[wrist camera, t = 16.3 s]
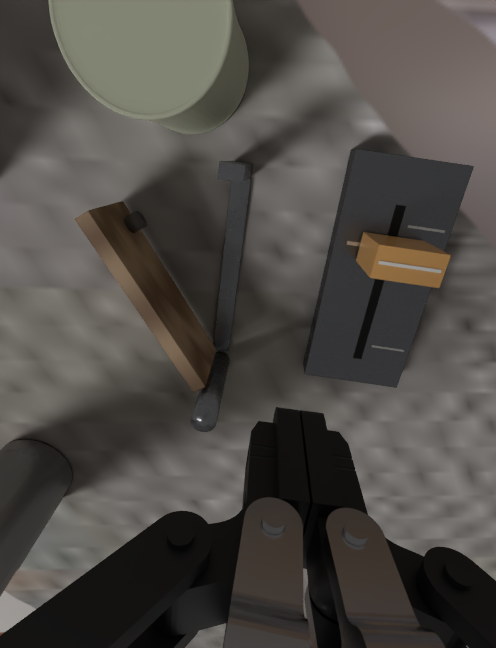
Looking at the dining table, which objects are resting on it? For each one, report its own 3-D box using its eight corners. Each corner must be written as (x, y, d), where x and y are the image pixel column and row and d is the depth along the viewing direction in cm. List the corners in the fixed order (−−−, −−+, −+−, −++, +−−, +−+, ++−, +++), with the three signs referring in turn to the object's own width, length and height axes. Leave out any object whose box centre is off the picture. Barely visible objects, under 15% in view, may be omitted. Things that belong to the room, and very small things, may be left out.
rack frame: (228, 369, 39) (214, 433, 30) (209, 366, 39) (189, 429, 30) (255, 164, 31) (247, 166, 22) (231, 160, 31) (213, 161, 22)
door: (226, 344, 37) (217, 381, 31) (206, 354, 38) (193, 392, 32) (134, 194, 32) (101, 202, 26) (111, 207, 33) (74, 219, 26)
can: (261, 7, 27) (252, -97, 16) (235, 146, 31) (214, 138, 20) (135, -25, 27) (38, -153, 16) (124, 119, 30) (40, 96, 20)
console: (390, 376, 38) (396, 387, 36) (303, 363, 38) (304, 374, 37) (461, 165, 30) (474, 166, 28) (351, 149, 30) (356, 148, 28)
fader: (415, 269, 31) (439, 288, 27) (356, 260, 31) (370, 278, 27) (424, 241, 30) (451, 255, 26) (363, 231, 30) (379, 244, 26)
